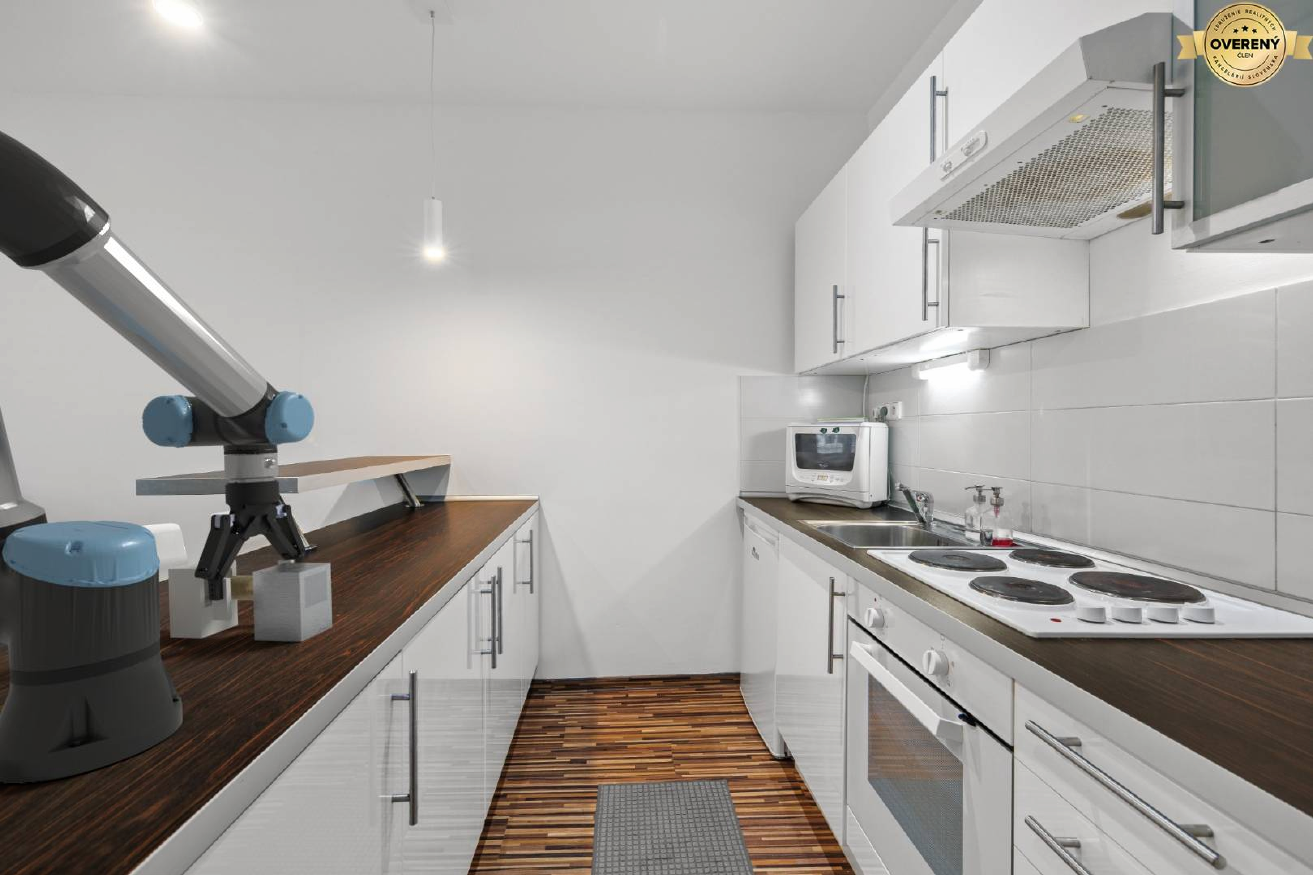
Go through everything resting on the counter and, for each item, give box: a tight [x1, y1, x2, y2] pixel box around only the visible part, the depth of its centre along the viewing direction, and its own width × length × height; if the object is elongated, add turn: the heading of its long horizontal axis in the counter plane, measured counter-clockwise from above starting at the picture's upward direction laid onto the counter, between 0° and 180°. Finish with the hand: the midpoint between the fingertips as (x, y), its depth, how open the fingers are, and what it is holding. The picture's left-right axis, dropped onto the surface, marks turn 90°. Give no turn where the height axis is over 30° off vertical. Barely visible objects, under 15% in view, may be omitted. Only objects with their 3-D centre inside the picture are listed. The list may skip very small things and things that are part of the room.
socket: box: [167, 559, 239, 639], centre depth 102 cm, size 6×7×11 cm
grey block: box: [252, 562, 333, 643], centre depth 99 cm, size 8×7×11 cm
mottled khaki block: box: [230, 574, 254, 601], centre depth 100 cm, size 14×4×4 cm, turn 80°
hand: (256, 607), depth 101 cm, fingers open, 12 cm apart
